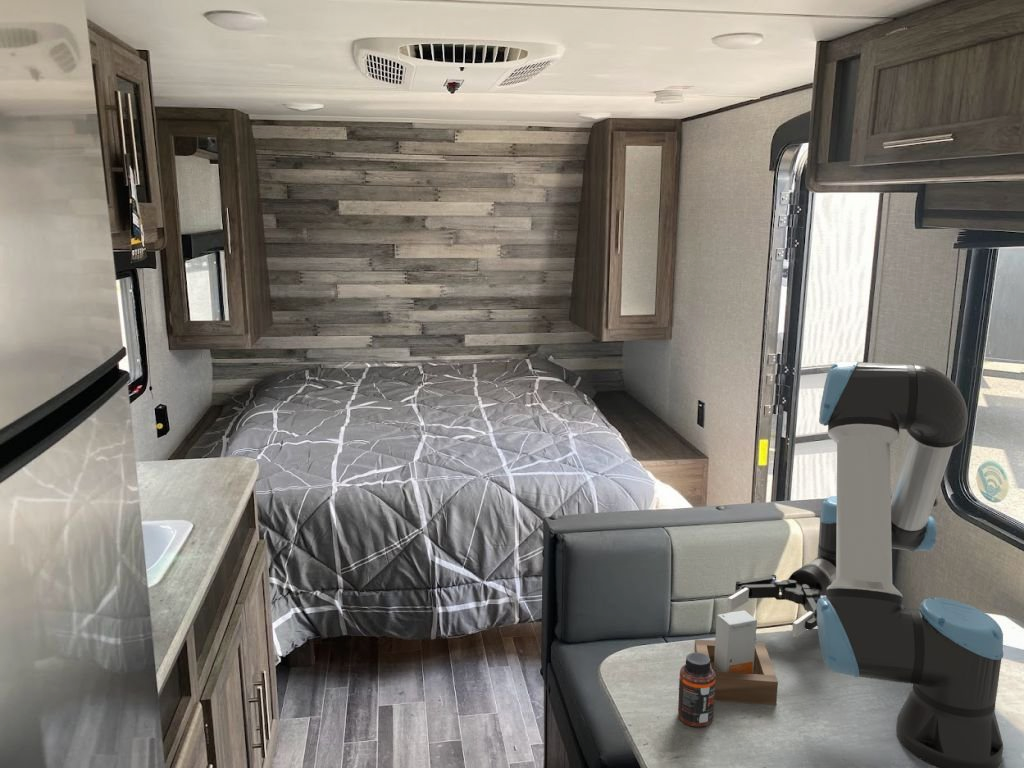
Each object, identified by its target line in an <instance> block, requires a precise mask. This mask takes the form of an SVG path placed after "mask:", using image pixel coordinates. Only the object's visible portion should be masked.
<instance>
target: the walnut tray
mask: <svg viewBox="0 0 1024 768" xmlns="http://www.w3.org/2000/svg"><path fill="white" fill-rule="evenodd" d="M695 652H696V653H703V654H705V655H707V656H708V657H709V658H710V667H711V668H712V669H713V671H714V655H715V639H697V638H695V639H694V652H693V653H695ZM778 685H779V681H778V678H777V676H776V672H775V669H774V667H773V663H772V660H771V658H770V656H769V652H768V650H767V648H766V645H765V643H763V642H755V655H754V668H753V674H744V673H729V672H715V696H714V702H715V701H716V702H728V703H729V702H730V703H743V704H746V703H747V704H759V705H774V706H775V705H776V706H777V704H778V703H777V702H778Z"/></svg>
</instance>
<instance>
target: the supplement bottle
mask: <svg viewBox="0 0 1024 768" xmlns="http://www.w3.org/2000/svg"><path fill="white" fill-rule="evenodd" d="M685 659H686V660H685V663H684V664H683V665H682V666H681V668H680V670H679V680H678V681H679V682H678V683H679V684H678V705H677V706H678V707H677V715H678V717H679V719H680V721H681V722H683V723H684V724H685V725H688V726H691V727H696V728H703V727H707V726H709V725H711V723H712V722H713V720H714V713H715V712H714V711H715V701H714V696H715V672H714V671H713V669H712V668H711V667H710V658H709V657H708V656H707V655H705V654H703V653H696V652H695V653H694V652H690V653H688V654H687V655H686V657H685Z"/></svg>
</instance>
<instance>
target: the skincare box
mask: <svg viewBox="0 0 1024 768" xmlns="http://www.w3.org/2000/svg"><path fill="white" fill-rule="evenodd" d="M757 625H758V620H757V619H756V618H755V617H754V616H752V615H751V614H749V612H748V611H746V610H745V609H744V610H738V611H731V612H730V611H728V612H727V613H726V612H725V613H720V614H717V615H716V627H715V639H714V640H715V655H714V672H729V673H744V674H753V668H754V655H755V643H756V638H757Z"/></svg>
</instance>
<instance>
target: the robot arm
mask: <svg viewBox="0 0 1024 768" xmlns="http://www.w3.org/2000/svg"><path fill="white" fill-rule="evenodd" d="M968 416H969V415H968V408H967V405H966V401H965V399H964V397H963V395H962V393H961V390H960V389H959V388H958V387H957V385H956V384H955V383H954V382H953V380H951V379H950V378H949V377H948V376H947V375H946V374H944V373H943V372H941V371H940V370H938V369H936V368H933V367H932V366H927V365H924V364H919V363H912V364H906V363H905V364H904V363H902V364H901V363H883V362H882V363H878V362H861V361H858V360H857V361H853V362H851V361H849V362H845V361H844V362H843V361H842V362H835V363H833V364H831V366H830V367H829V368H828V370H827V373H826V377H825V382H824V387H823V391H822V397H821V403H820V408H819V419H818V421H819V422H818V423H819V424H820V425H823V426H824V427H827V435H828V437H829V438H830V439H831V440H832V441H833V442H834V443H835V444H836V495H834V496H833V495H832V496H828V497H826V498H825V499H824V500H823V501H822V503H821V511H820V516H819V530H818V531H819V533H818V534H819V535H818V544H817V546H818V547H817V554H816V555H817V557H816V558H814V559H813V560H811V561H810V562H808V563H806V564H805V565H803V566H801V567H800V568H798V569H796V570H795V571H794V572H793V573H791V575H790V576H789V577H788V578H787V579H783V580H779V579H777V575H776V574H769V575H767V576H762V577H756V578H749V579H742V580H736V581H735V586H734V587H735V588H734V589H735V591H734V592H732V595H730V596H729V597H727V609H726V610H727V611H728V612H734V611H735V610H736V609H738V608H739V607H741V606H743V605H744V604H746V603H747V602H749V599H772V598H774V599H775V600H776V601H781V600H784V601H785V600H786V601H789V602H793V603H794V604H798V605H801V606H802V607H803V609H804V610H805V611H806V613H804V614H803V615H802V616H800V617H799V618H798V619H796V620H794V621H793V622H792V629H791V637H793V638H797V637H798V636H800V635H802V634H803V633H805V631H807V630H808V631H811V630H813V629H815V628H817V635H818V642H819V647H820V653H821V656H822V660H823V662H824V664H825V666H826V667H827V668H828V670H830V671H831V672H834V673H837V674H844V675H850V676H853V677H854V678H859V677H860V678H867V679H868V678H869V679H873V680H874V679H875V680H882V681H888V682H895V683H904V684H911V685H912V688H911V691H910V692H909V694H908V696H907V698H906V699H905V701H904V703H903V705H902V707H901V709H900V711H899V713H898V714H897V718H896V726H895V731H896V732H895V733H896V735H897V738H898V740H899V741H900V744H901V745H903V746H904V747H905V748H906V749H907V751H909V752H910V753H911V754H912V755H914V756H915V757H917V758H918V759H920V760H922V761H924V762H926V763H928V764H930V765H933V766H934V767H937V768H999V766H1001V764H1002V761H1003V754H1004V744H1003V743H1004V741H1003V739H1002V735H1001V732H1000V728H999V723H998V720H997V716H996V711H995V710H996V704H997V703H996V702H997V694H998V686H999V681H1000V680H999V679H1000V672H1001V671H1000V670H1001V666H1002V665H1001V664H1002V659H1003V658H1004V649H1003V648H1004V633H1003V632H1004V631H1003V630H1002V628H1001V626H1000V624H999V623H998V622H997V621H996V620H995V619H994V618H993V617H992V616H990V615H989V614H987V613H985V612H984V611H983V610H982V609H981V610H980V609H979V608H977V607H975V606H973V605H970V604H967V603H964V602H962V601H960V600H959V601H958V600H955V599H950V598H946V597H937V596H936V597H931V598H930V597H929V598H925V599H924V600H923V601H922V602H921V603H920V604H919V609H918V608H910V607H904V603H903V602H904V597H903V594H902V593H901V592H900V591H899V590H898V589H897V588H896V587H895V586H894V584H893V557H892V556H893V555H892V554H893V552H892V549H895V550H902V551H903V550H905V551H909V552H915V551H921V552H923V551H925V552H928V551H932V550H933V548H934V547H935V545H936V542H937V541H936V538H937V524H936V521H935V518H934V517H933V516H931V513H932V510H933V507H934V505H935V501H936V498H937V495H938V492H939V490H940V487H941V484H942V481H943V477H944V475H945V472H946V470H947V467H948V463H949V460H950V459H951V458H950V457H951V455H952V451H953V449H954V447H956V446H958V445H959V444H960V443H961V441H963V439H964V437H965V433H966V431H967V426H968V419H969V417H968ZM900 430H905V431H906V432H907V434H908V436H907V441H906V445H905V448H904V451H903V455H902V458H901V461H900V465H899V469H898V473H897V477H896V480H895V483H894V488H893V491H892V492H891V485H892V484H891V445H892V444H893V443H895V442H896V441H897V440H899V438H900ZM891 494H892V495H891ZM780 593H781V594H780Z"/></svg>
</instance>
